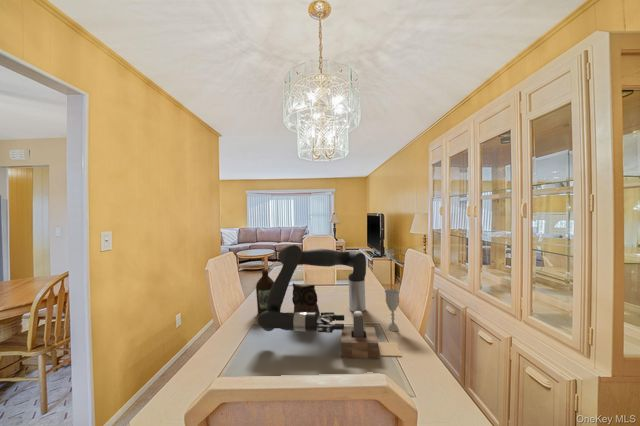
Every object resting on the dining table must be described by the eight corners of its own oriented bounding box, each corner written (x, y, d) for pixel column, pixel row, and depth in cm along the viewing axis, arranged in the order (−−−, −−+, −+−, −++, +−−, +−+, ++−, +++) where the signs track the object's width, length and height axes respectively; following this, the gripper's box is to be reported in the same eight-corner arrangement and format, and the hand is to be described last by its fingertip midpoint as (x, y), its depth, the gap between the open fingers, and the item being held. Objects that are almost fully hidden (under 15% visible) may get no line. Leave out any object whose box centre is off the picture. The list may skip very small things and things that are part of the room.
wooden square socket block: (342, 339, 114) (342, 326, 114) (374, 340, 113) (374, 327, 113) (341, 357, 100) (341, 342, 100) (378, 358, 99) (378, 343, 99)
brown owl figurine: (320, 324, 131) (319, 285, 130) (296, 328, 127) (295, 287, 127) (314, 315, 143) (313, 279, 143) (291, 318, 139) (290, 281, 139)
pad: (377, 343, 111) (377, 342, 111) (396, 343, 110) (396, 342, 110) (380, 356, 101) (380, 355, 101) (401, 356, 100) (401, 355, 100)
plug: (354, 346, 109) (353, 310, 109) (363, 346, 108) (362, 310, 108) (354, 351, 105) (353, 314, 105) (364, 351, 104) (363, 314, 104)
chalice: (390, 333, 119) (389, 294, 119) (382, 326, 126) (381, 290, 126) (404, 330, 121) (402, 292, 121) (396, 324, 128) (395, 288, 128)
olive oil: (257, 310, 152) (256, 268, 152) (275, 309, 154) (274, 267, 154) (255, 317, 142) (254, 272, 142) (275, 316, 143) (274, 270, 143)
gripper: (302, 319, 102) (343, 320, 100) (307, 306, 116) (344, 306, 114) (303, 338, 102) (344, 339, 100) (308, 323, 116) (344, 323, 114)
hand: (344, 322), depth 107 cm, fingers open, 8 cm apart
